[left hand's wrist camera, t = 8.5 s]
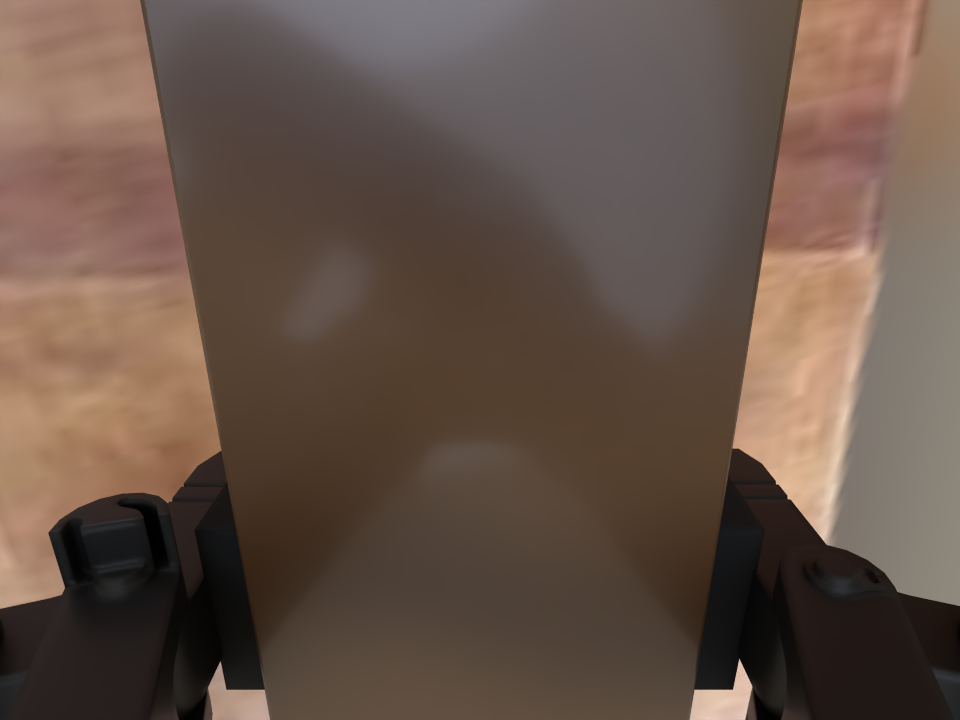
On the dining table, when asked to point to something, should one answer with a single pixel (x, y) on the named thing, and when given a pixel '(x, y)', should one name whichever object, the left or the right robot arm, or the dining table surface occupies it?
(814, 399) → the dining table surface
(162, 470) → the dining table surface
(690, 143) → the post
